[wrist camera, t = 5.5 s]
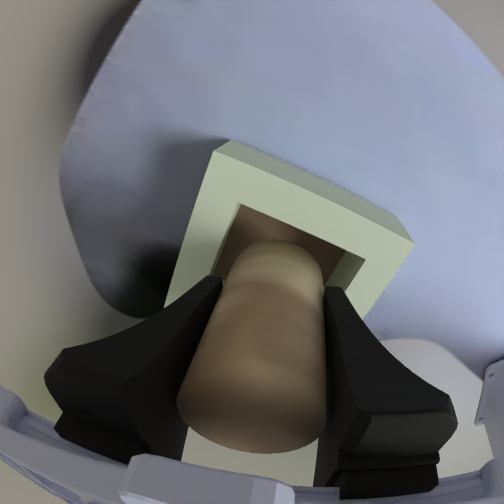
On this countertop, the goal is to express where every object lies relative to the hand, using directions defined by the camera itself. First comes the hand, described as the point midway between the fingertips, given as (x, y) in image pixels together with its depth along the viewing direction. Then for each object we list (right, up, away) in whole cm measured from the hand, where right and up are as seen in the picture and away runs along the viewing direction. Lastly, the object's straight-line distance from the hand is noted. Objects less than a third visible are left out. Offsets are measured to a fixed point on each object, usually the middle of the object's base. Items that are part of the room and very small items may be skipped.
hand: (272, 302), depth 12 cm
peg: (0, +1, +1) cm, 2 cm away
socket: (+1, +2, +4) cm, 4 cm away
